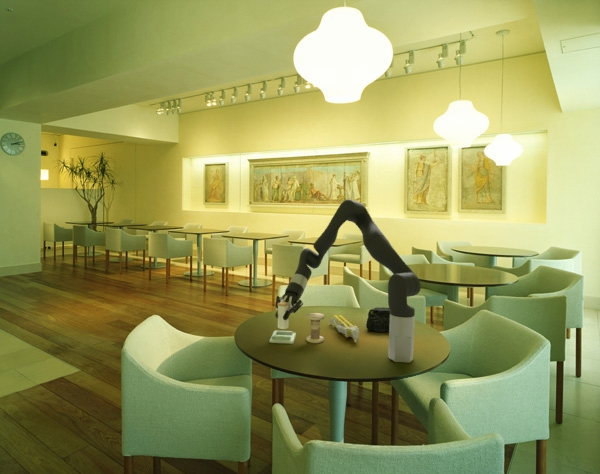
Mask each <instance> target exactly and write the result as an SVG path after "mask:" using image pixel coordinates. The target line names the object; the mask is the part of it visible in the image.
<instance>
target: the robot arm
mask: <svg viewBox="0 0 600 474" xmlns="http://www.w3.org/2000/svg"><path fill="white" fill-rule="evenodd" d="M347 221H348V222H352V223H353V224H355V226H356V227H358V229H359V231H360V232H361V235H362V242H363V245H364V247H365V249H366V250H367V252H368V254H369V255H370V256H371V258H372V259H374V260H375V261H376V262H377V263H379V264H381V265H382V266H383V267H385V268H386V269H388V270H389V271H391V273H392V274H391V275H390V277H389V279H388V283H387V303H388V304H387V305H388V308H390V325H389V332H388V352H387V353H388V359H390V360H392V361H393V362H394V363H410V364H411V362H412V361H413V360H414V359H413V358H414V335H415V319H416V318H415V317H416V315H415V314H416V313H415V311H416V310H415V308H414V307H413V306H412V305H408V298H409V297H413V296H417V295H418V294H419V293H420V291H421V288H422V287H421V281H420V279H419V277H418V276H417V274H416V273H415V272H414V271H413V270H412V269H411V268H410V267H409V265H408V264H407V263H406V262H405V261H404V260H403V259H402V257H401V256H400V254H399V253H398V252H397V251H396V249H395V248H394V247H393V245H392V244H391V243H390V242H389V240H388V238H387V237H386V236H385V234H384V233H383V232H382V231H381V229H380V228H379V226H378V225H377V224H376V223H375V222H374V220H373V219H372V216H371V215H370V213H369V211H368V209H367V208H366V206H365V205H364V204H363V203H361V202H360V201H357V200H353V199H348V198H347V199H345V200H343V201H342V202H341V204H339V206H338V208H337V209H336V211H335V213H334V214H333V217H332V218H331V220H330V221H329V223H328V225H327V226H326V228H325V229H324V231H323V232H322V233H321V234H320V236H319V237H318V238H317V239H316V240H315V241H314V243H313V245H312V246H313V249H314V250H315V251H314V250H312V249H310V248H309V247H308V248H303V250H302V251H300V255H299V259H298V266H297V268H296V270H295V272H294V274H293V275H292V277H291V278H290V281H289V283H288V285H287V287H285V288H286V289H285V292H284V294H282V296H279V295H277V296H276V298H275V305H274V306H275V308H276V309H277V311H276V312H275V314H274V315H275V318H276V319H277V320H278V303H280V302H288V303H289V305H288V308H287V311H286V312H285V314H284V316H283V319H284V320H287V319H288V317H290V315H291V314H296V313H297V311H298V310H299V309H301V307H302V306H303V305H304V302H303V301H302V300H301V297H302V296H303V293H304V291H305V290H306V287H307V285H308V282H309V281H310V278H311V276H312V273H313V272H312V269H314V270H315V269H318V268H319V267H320V266H321V264H322V261H323V259H324V257H325V255H326V254H327V252H328V251H329V250H330V249H331V247H332V246H333V245H334V244H335V242H336V240H337V238H338V233H339V230H340V228H341V226H342V225H344V224H345V223H346V222H347Z"/></svg>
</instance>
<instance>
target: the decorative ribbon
mask: <svg viewBox="0 0 600 474" xmlns="http://www.w3.org/2000/svg"><path fill="white" fill-rule="evenodd" d="M329 324H330V326H331V325H333V324H334V326H335V328H336V330H337V331H338V333H339V334H341V335H342V336H343V337H344V338H347V339H348V338H349V337H350V338H352V339H353V341H354V343H357V342H358V341H357V340H358V338H360V329H359V328H358V326H357V325H353V324H352V323H351V322H349V321H348V320H347V319H346V318H345V317H344V316H343V315H340V314H338V315H336V314H333V316H331V319H330V321H329Z"/></svg>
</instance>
